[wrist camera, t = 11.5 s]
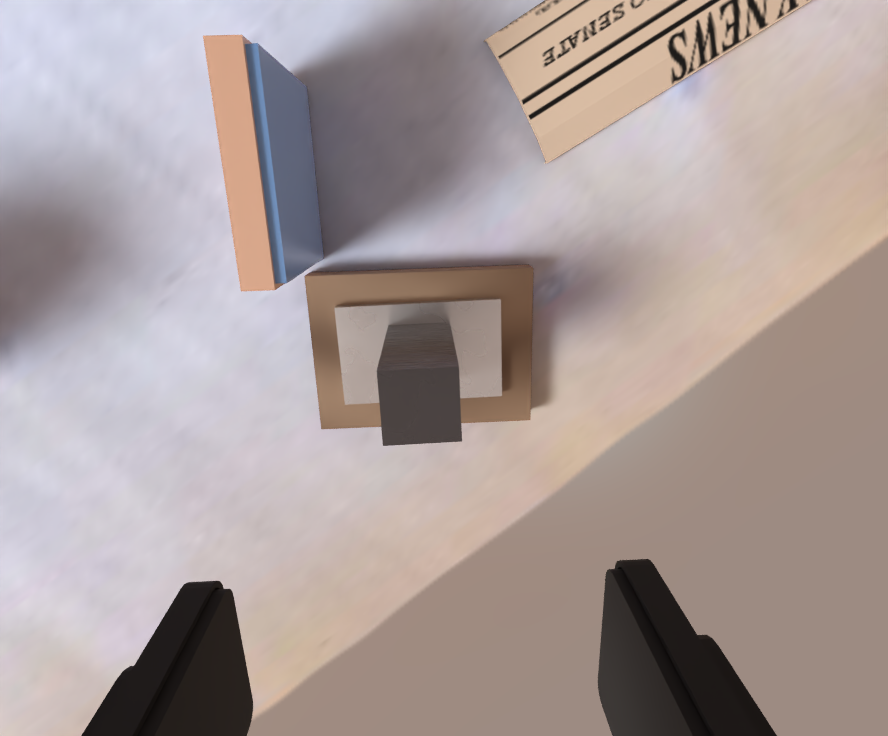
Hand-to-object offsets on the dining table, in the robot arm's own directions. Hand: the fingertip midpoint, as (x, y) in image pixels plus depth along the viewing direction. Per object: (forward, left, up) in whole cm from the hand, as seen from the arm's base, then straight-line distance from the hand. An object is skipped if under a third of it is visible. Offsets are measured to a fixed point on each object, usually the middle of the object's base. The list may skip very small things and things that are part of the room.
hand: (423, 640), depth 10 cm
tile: (-8, -5, -20) cm, 22 cm away
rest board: (0, 0, -20) cm, 20 cm away
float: (0, 0, -18) cm, 18 cm away
